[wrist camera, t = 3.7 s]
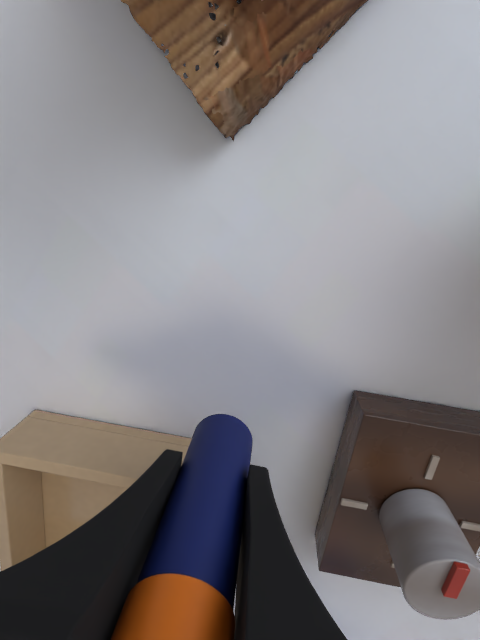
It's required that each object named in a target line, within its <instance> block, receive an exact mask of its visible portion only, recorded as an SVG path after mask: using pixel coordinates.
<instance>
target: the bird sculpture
mask: <svg viewBox="0 0 480 640" xmlns="http://www.w3.org/2000/svg"><path fill="white" fill-rule="evenodd" d="M121 1H122V2H123V3H126V4H127V5H129V8H130V12H131V14H132V16H133V18H134V19H135V21H136V22H137V23H138V24H139V25H140V26H141V27H142V29H144V30H145V32H146V33H147V34H148V35H149V36H150V37H151V38H152V42H153V41H154V43H155V44H156V45H157V47H158V48H159V49H161V50H163V51H164V53H165V50H166V49H168V50H169V54H168V55H167V56H165V57H166V58H167V59H168V61H169V63H171V68H172V69H173V70H174V71H175V73H176V74H177V75H179V76H180V77H181V79H182V80H183V82H184V83H185V84H186V86H187V87H188V88H189V89H190V90H191V91H192V92H193V95H194V96H195V97H196V99H197V103H198V104H199V105H200V106H201V107H202V108H203V111H204V113H205V114H206V115H207V116H208V117H209V118H210V120H211V121H212V122H213V124H214V125H215V126H216V127H217V128H218V130H219V131H220V132H221V133H222V134H223V135H224V137H225V138H227V137H229V136H230V137H231V138H232V140H233V141H234V135H235V134H236V133H237V132H238V130H239V129H240V128H241V127H242V126H244V125H246V124H250V122H251V120H252V119H253V117H254V116H255V114H256V115H258V112H259V109H260V108H264V107H265V106H266V105H267V104H268V102H269V100H270V99H271V98H272V97H273V98H274V97H275V96H276V95H277V94H278V93H279V91H280V90H281V89H282V86H283V85H284V84H285V83H286V82H287V81H288V80H289V79H291V78H293V76H294V73H295V71H297V70H298V72H299V70H300V68H301V67H302V66H303V63H304V62H305V63H307V62H308V61H309V60H311V59H313V56H312V55H313V54H314V53H316V52H317V48H318V47H319V48H322V47H323V45H324V44H325V43H327V41H328V40H329V39H330V38H331V37H332V36H333V35H334V33H335V32H336V31H337V30H339V29H340V28H341V27H342V26H343V25H344V24H345V23H346V22H347V21H348V20H349V17H351V16H352V14H354V13H355V11H356V10H357V9H358V8H360V7H361V6H362V5H363V4H364V3H366V2H367V1H368V0H241V3H240V4H238V3H237V0H121ZM208 2H211V3H212V5H213V6H212V7H210V8H209V4H208ZM214 3H216V4H217V5H218V6H219V7H218V8H217V9H216V10H215V5H214ZM209 13H214V14H216V20H212V19H211V18H210V16H209ZM332 31H333V32H332ZM331 33H332V34H331ZM330 34H331V36H330V37H328V36H329V35H330ZM217 37H220V39H221V42H220V43H218V41H217ZM161 44H163V45H164V46H161ZM217 50H218V51H219V52H218V53H217V54H216V55H215V53H216V51H217ZM216 62H218V64H219V67H218V68H217V67H216V66H215V64H216ZM184 63H185V65H186V67H185V66H183V64H184ZM196 65H199V70H197V71H196V69H195V67H196ZM184 73H186V75H187V76H188V78H186V79H185V78H184V76H183V74H184Z"/></svg>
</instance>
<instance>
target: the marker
mask: <svg viewBox="0 0 480 640" xmlns="http://www.w3.org/2000/svg"><path fill="white" fill-rule="evenodd" d="M251 452H252V435H251V433H250V431H249V429H248V427H247V426H246V425H245V424H244V423H243V422H242V421H241V420H239V419H238V418H236V417H233V416H231V415H226V414H215V415H211V416H208V417H207V418H205V419H203V420H202V421H201V422H200V423H199V424H198V425H197V427H196V429H195V432H194V434H193V437H192V440H191V442H190V445H189V447H188V450H187V453H186V455H185V458H184V461H183V463H182V466H181V468H180V471H179V474H178V476H177V479H176V481H175V484H174V487H173V489H172V492H171V495H170V497H169V500H168V502H167V505H166V508H165V510H164V513H163V515H162V518H161V521H160V523H159V526H158V529H157V531H156V534H155V536H154V539H153V542H152V544H151V547H150V550H149V552H148V555H147V557H146V560H145V563H144V565H143V568H142V570H141V573H140V576H139V578H138V581H137V584H136V585H135V586H134V587H133V588H132V589H131V591H130V592H129V594H128V596H127V598H126V601H125V603H124V606H123V609H122V611H121V614H120V616H119V619H118V621H117V624H116V626H115V629H114V631H113V634H112V636H111V639H110V640H234V633H235V617H234V613H233V606H234V598H235V589H236V581H237V572H238V563H239V555H240V546H241V538H242V529H243V520H244V507H245V494H246V486H247V478H248V472H249V466H250V460H251Z"/></svg>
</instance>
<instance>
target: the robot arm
mask: <svg viewBox="0 0 480 640" xmlns="http://www.w3.org/2000/svg"><path fill="white" fill-rule="evenodd" d="M182 454H183V452H180V451H175V450H170V449H166V450H165V451H164V452H163V453H162V454H161V455H160V456H159V457H158V459H157V460H156V461H155V462H154V463H153V464H152V465H151V466H150V467H149V468H148V469H147V470H146V471H145V472H144V473H143V474H142V475H141V476H140V477H139V478H138V479H137V480H136V481H135V482H134V483H133V484H132V485H131V486H130V487H129V488H128V489H127V490H126V491H124V492H123V493H122V494H121V495H120V496H119V497H118V498H116V499H115V500H114V501H113V502H112V503H111V504H109V505H108V506H107V507H106V508H104V509H103V510H102V511H101V512H99V513H98V514H97V515H95V516H94V517H93V518H91V519H90V520H89V521H87V522H86V523H84V524H83V525H81V526H80V527H79V528H77V529H76V530H74V531H73V532H71V533H70V534H68V535H67V536H65V537H63V538H62V539H60V540H59V541H57V542H55V543H54V544H52V545H50V546H48V547H47V548H45V549H43V550H41V551H40V552H38V553H36V554H34V555H33V556H31V557H29V558H27V559H25V560H23V561H21V562H20V563H17V564H15V565H13V566H11V567H9V568H7V569H5V570H3V571H1V572H0V640H110V639H111V636H112V634H113V631H114V629H115V626H116V624H117V621H118V619H119V616H120V614H121V611H122V609H123V606H124V603H125V601H126V598H127V596H128V594H129V592H130V591H131V589H132V588H133V587H134V586H135V585H136V584H137V581H138V578H139V576H140V573H141V570H142V568H143V565H144V563H145V560H146V557H147V555H148V552H149V550H150V547H151V544H152V542H153V539H154V536H155V534H156V531H157V529H158V526H159V523H160V521H161V518H162V515H163V513H164V510H165V508H166V505H167V502H168V500H169V497H170V495H171V492H172V489H173V487H174V484H175V481H176V479H177V476H178V474H179V471H180V468H181V464H182ZM234 640H347V638H346V637H345V636H344V634H343V633H342V632H341V630H340V629H339V627H338V626H337V624H336V623H335V621H334V620H333V618H332V617H331V615H330V614H329V612H328V611H327V609H326V608H325V606H324V604H323V603H322V601H321V599H320V598H319V596H318V594H317V593H316V591H315V589H314V588H313V586H312V584H311V583H310V581H309V579H308V577H307V575H306V573H305V571H304V570H303V568H302V566H301V564H300V562H299V560H298V558H297V556H296V554H295V551H294V549H293V547H292V545H291V542H290V540H289V538H288V535H287V533H286V530H285V528H284V525H283V523H282V520H281V517H280V514H279V511H278V508H277V505H276V502H275V499H274V495H273V492H272V488H271V484H270V479H269V472H268V470H267V468H265V467H260V466H255V465H250V466H249V472H248V478H247V486H246V494H245V507H244V520H243V529H242V538H241V546H240V555H239V563H238V572H237V581H236V604H235V633H234Z"/></svg>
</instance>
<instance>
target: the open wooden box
mask: <svg viewBox="0 0 480 640" xmlns="http://www.w3.org/2000/svg"><path fill="white" fill-rule="evenodd" d="M191 440H192V438H187V437H181V436H176V435H170V434H165V433H160V432H154V431H149V430H143V429H138V428H132V427H127V426H121V425H116V424H111V423H105V422H100V421H94V420H89V419H83V418H78V417H72V416H67V415H62V414H56V413H51V412H45V411H40V410H34V411H33V412H32V413H30V414H29V415H28V416H27V417H26V418H24V419H23V420H22V421H21V422H20V423H18V424H17V425H16V426H15V427H14V428H12V429H11V430H10V431H9V432H8V433H6V434H5V435H4V436H3V437H2V438H0V567H1V571H3V570H5V569H7V568H9V567H11V566H13V565H15V564H17V563H20V562H21V561H23V560H25V559H27V558H29V557H31V556H33V555H34V554H36V553H38V552H40V551H41V550H43V549H45V548H47V547H48V546H50V545H52V544H54V543H55V542H57V541H59V540H60V539H62V538H63V537H65V536H67V535H68V534H70V533H71V532H73V531H74V530H76V529H77V528H79V527H80V526H81V525H83V524H84V523H86V522H87V521H89V520H90V519H91V518H93V517H94V516H95V515H97V514H98V513H99V512H101V511H102V510H103V509H104V508H106V507H107V506H108V505H109V504H111V503H112V502H113V501H114V500H115V499H116V498H118V497H119V496H120V495H121V494H122V493H123V492H124V491H126V490H127V489H128V488H129V487H130V486H131V485H132V484H133V483H134V482H135V481H136V480H137V479H138V478H139V477H140V476H141V475H142V474H143V473H144V472H145V471H146V470H147V469H148V468H149V467H150V466H151V465H152V464H153V463H154V462H155V461H156V460H157V459H158V457H159V456H160V455H161V454H162V453H163V452H164V451H165V450H166V449H170V450H175V451H180V452H183V454H182V463H183V461H184V458H185V455H186V453H187V450H188V447H189V445H190V442H191ZM181 466H182V464H181Z"/></svg>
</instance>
